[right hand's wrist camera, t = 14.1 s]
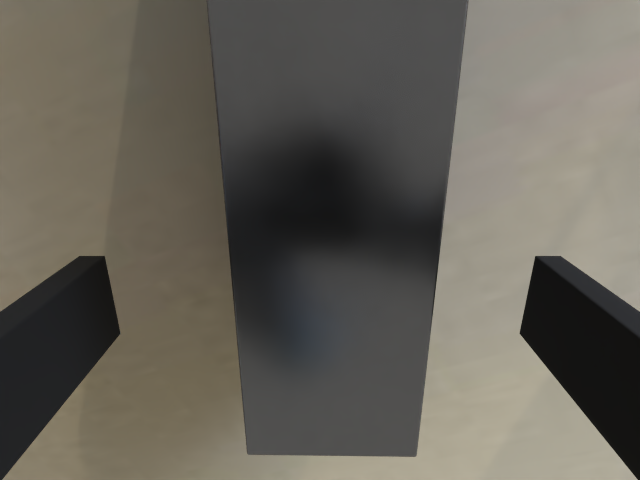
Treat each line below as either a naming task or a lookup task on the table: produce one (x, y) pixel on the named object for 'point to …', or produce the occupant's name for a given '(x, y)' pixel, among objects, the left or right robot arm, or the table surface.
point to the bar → (335, 211)
